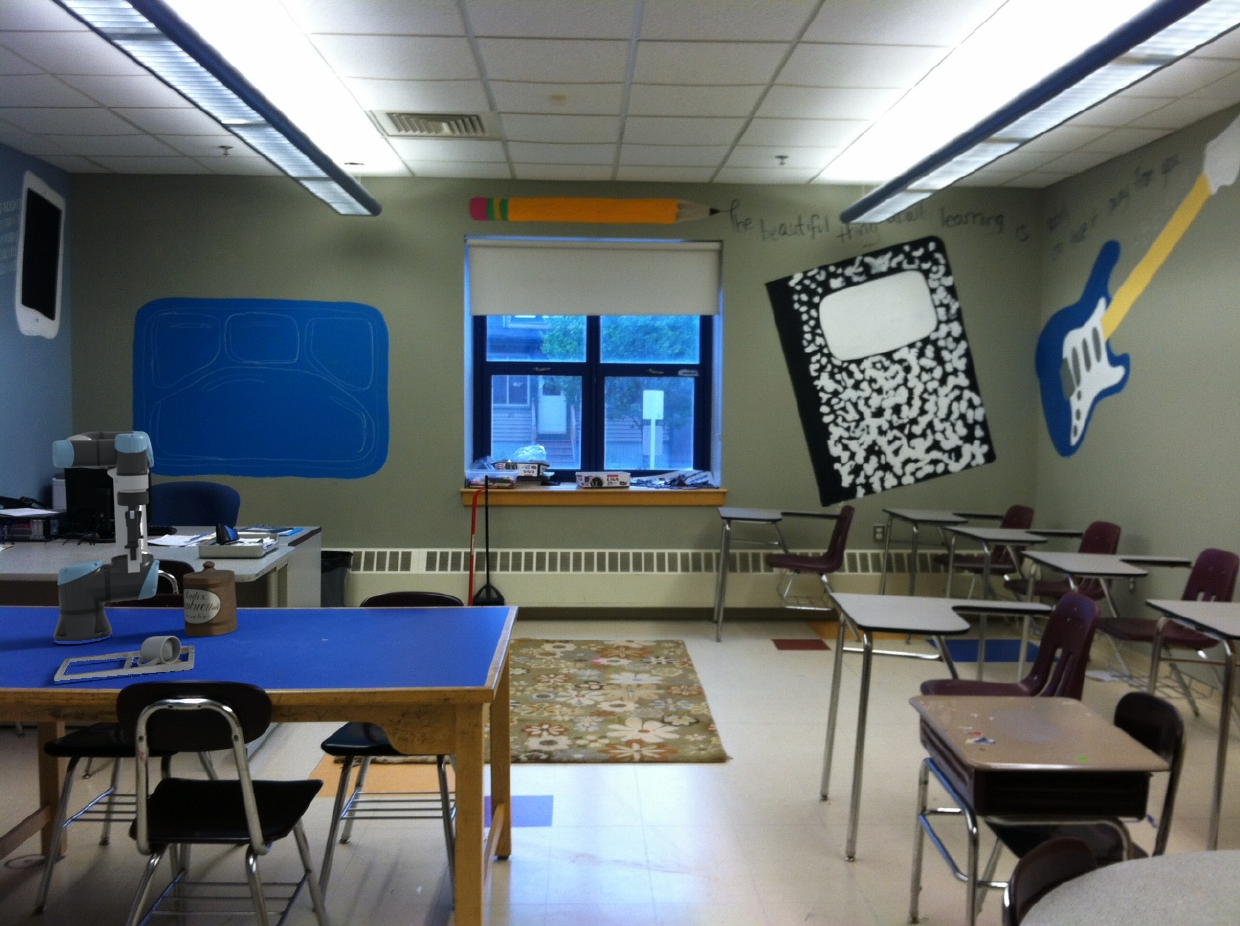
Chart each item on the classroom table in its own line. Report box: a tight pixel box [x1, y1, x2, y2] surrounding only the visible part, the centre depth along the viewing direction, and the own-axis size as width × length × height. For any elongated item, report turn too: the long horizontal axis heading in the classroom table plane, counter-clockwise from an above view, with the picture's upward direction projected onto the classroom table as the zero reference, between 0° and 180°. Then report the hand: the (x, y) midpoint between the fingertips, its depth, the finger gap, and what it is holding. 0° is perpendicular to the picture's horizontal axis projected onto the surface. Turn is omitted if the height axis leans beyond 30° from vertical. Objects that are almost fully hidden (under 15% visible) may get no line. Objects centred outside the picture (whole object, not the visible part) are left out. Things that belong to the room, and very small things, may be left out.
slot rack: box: [53, 644, 196, 681], centre depth 236 cm, size 19×31×2 cm, turn 115°
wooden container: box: [182, 560, 238, 638], centre depth 275 cm, size 15×15×22 cm
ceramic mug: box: [136, 635, 182, 667], centre depth 238 cm, size 10×8×7 cm
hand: (135, 567), depth 243 cm, fingers open, 13 cm apart
